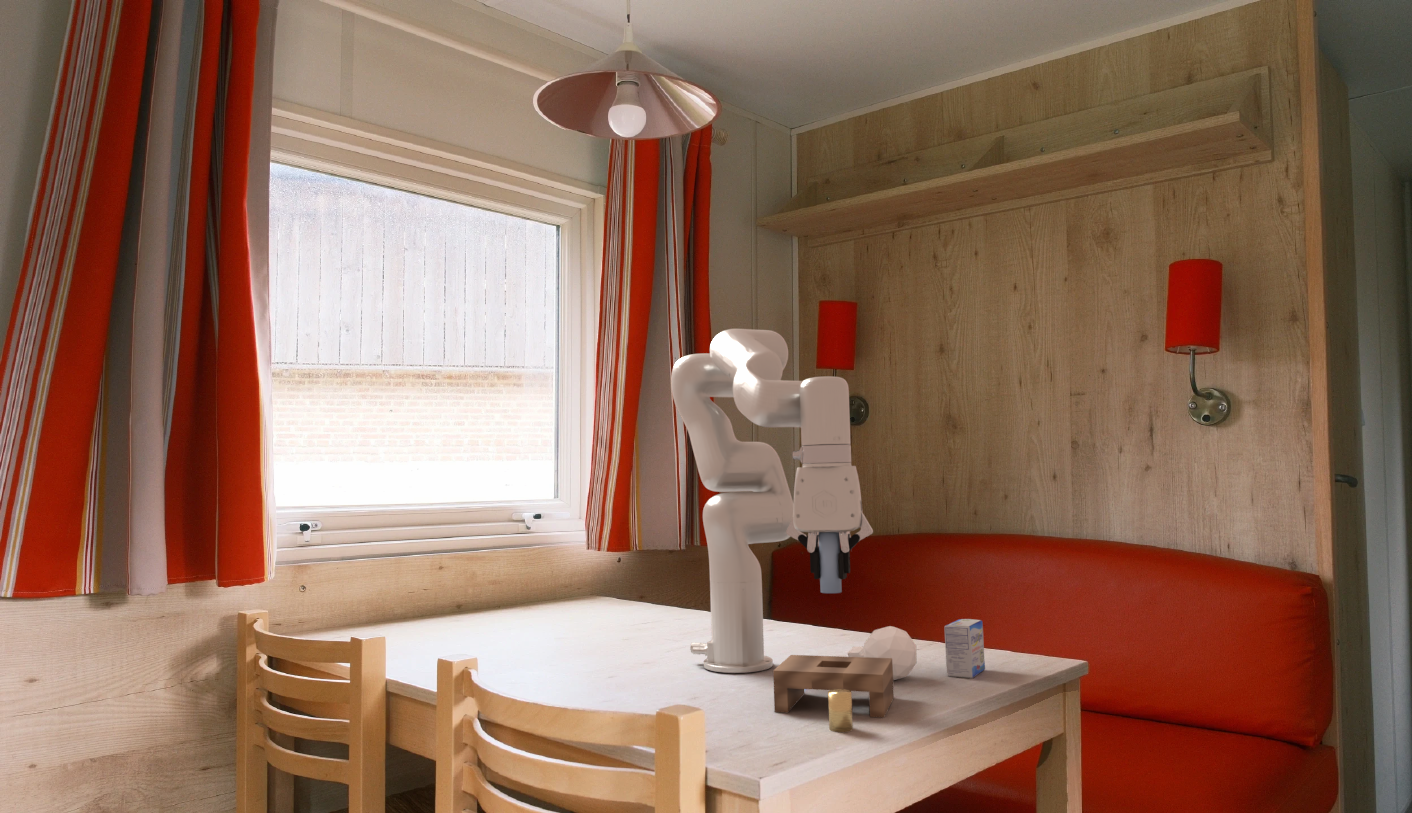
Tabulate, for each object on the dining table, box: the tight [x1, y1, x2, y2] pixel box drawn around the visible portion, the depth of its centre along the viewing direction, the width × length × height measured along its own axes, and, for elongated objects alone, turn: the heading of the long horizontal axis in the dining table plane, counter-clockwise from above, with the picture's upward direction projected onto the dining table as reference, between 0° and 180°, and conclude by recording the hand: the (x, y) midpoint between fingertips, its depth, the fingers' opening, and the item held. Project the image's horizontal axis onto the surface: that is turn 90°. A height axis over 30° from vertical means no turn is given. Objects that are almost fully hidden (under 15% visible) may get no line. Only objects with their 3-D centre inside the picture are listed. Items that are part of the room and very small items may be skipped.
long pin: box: [818, 532, 843, 594], centre depth 143 cm, size 3×3×9 cm
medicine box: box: [944, 618, 986, 679], centre depth 161 cm, size 8×4×9 cm, turn 148°
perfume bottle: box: [847, 625, 918, 681], centre depth 159 cm, size 9×9×12 cm
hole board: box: [772, 654, 895, 719], centre depth 142 cm, size 16×12×6 cm
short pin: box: [827, 689, 854, 733], centre depth 128 cm, size 3×3×5 cm
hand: (830, 576), depth 143 cm, fingers closed on long pin, 3 cm apart
